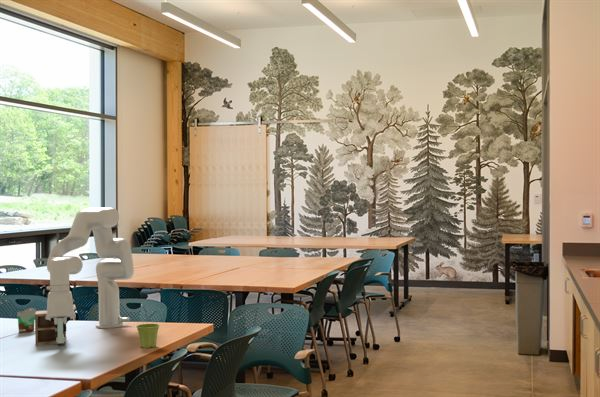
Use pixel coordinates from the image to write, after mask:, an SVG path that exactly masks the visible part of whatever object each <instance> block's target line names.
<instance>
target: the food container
mask: <svg viewBox="0 0 600 397" xmlns="http://www.w3.org/2000/svg"><path fill="white" fill-rule="evenodd" d="M36 311H37V310H36V308H35V307H34V308H33V307H26V309H25V310H22V311H17V314H16V315H17V325H18V328H17V329H18V334H27V333H33V332H35V313H36Z"/></svg>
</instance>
